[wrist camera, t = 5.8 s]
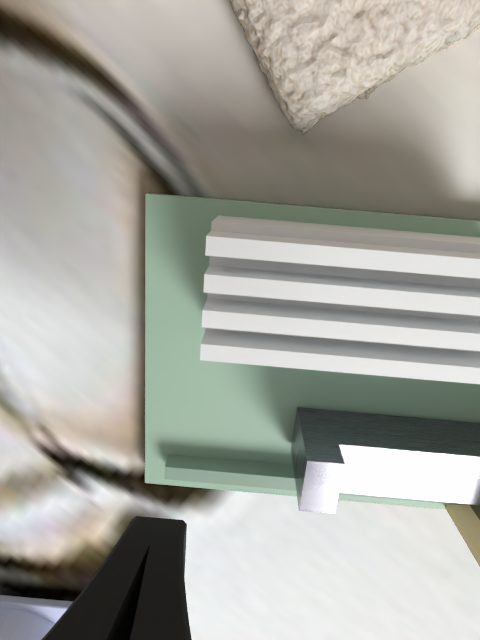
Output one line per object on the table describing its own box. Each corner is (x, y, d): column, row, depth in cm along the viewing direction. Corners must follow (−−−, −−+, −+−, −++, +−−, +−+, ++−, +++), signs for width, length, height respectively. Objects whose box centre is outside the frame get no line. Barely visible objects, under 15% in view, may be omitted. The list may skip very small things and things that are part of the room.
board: (149, 470, 18) (118, 556, 14) (151, 193, 14) (108, 197, 10) (503, 501, 18) (578, 597, 14) (603, 231, 14) (750, 251, 10)
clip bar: (290, 449, 16) (299, 510, 13) (296, 406, 16) (307, 460, 13) (511, 469, 16) (570, 534, 13) (527, 427, 16) (593, 485, 13)
